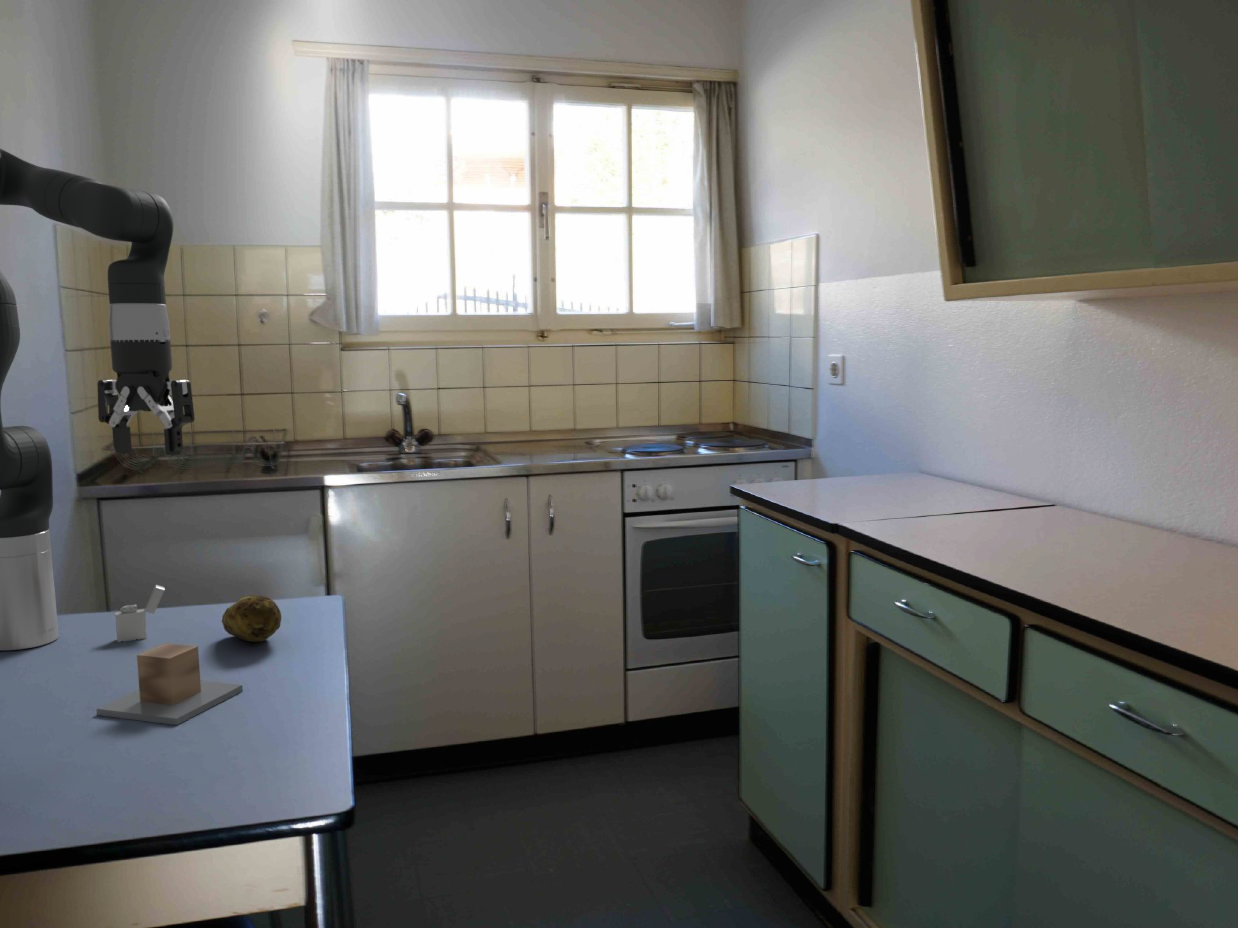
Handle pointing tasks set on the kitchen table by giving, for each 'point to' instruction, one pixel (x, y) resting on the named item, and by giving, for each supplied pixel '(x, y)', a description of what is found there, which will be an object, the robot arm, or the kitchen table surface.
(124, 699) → the coaster
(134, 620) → the lighter
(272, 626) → the potato
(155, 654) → the block
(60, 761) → the kitchen table surface
